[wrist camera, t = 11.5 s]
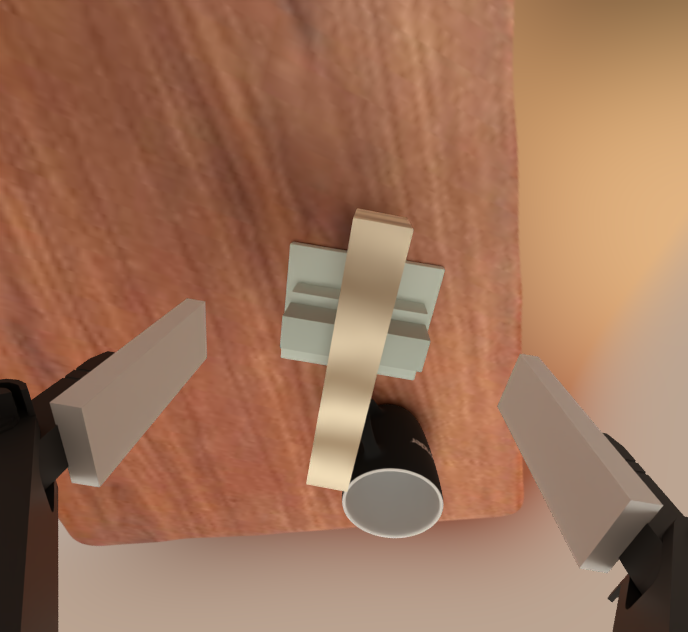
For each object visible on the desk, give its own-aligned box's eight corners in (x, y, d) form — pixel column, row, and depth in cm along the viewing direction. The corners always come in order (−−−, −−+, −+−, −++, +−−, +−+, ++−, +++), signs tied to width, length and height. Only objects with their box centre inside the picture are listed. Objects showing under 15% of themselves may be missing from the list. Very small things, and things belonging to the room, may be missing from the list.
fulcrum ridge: (292, 241, 31) (273, 259, 26) (443, 266, 31) (459, 290, 25) (283, 352, 36) (265, 389, 31) (412, 374, 36) (420, 416, 30)
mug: (437, 444, 40) (456, 528, 31) (366, 462, 42) (363, 546, 33) (403, 361, 36) (413, 430, 27) (325, 385, 38) (310, 457, 29)
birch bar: (357, 208, 24) (353, 217, 19) (406, 217, 24) (413, 229, 19) (314, 443, 33) (306, 484, 29) (350, 450, 33) (347, 491, 29)
